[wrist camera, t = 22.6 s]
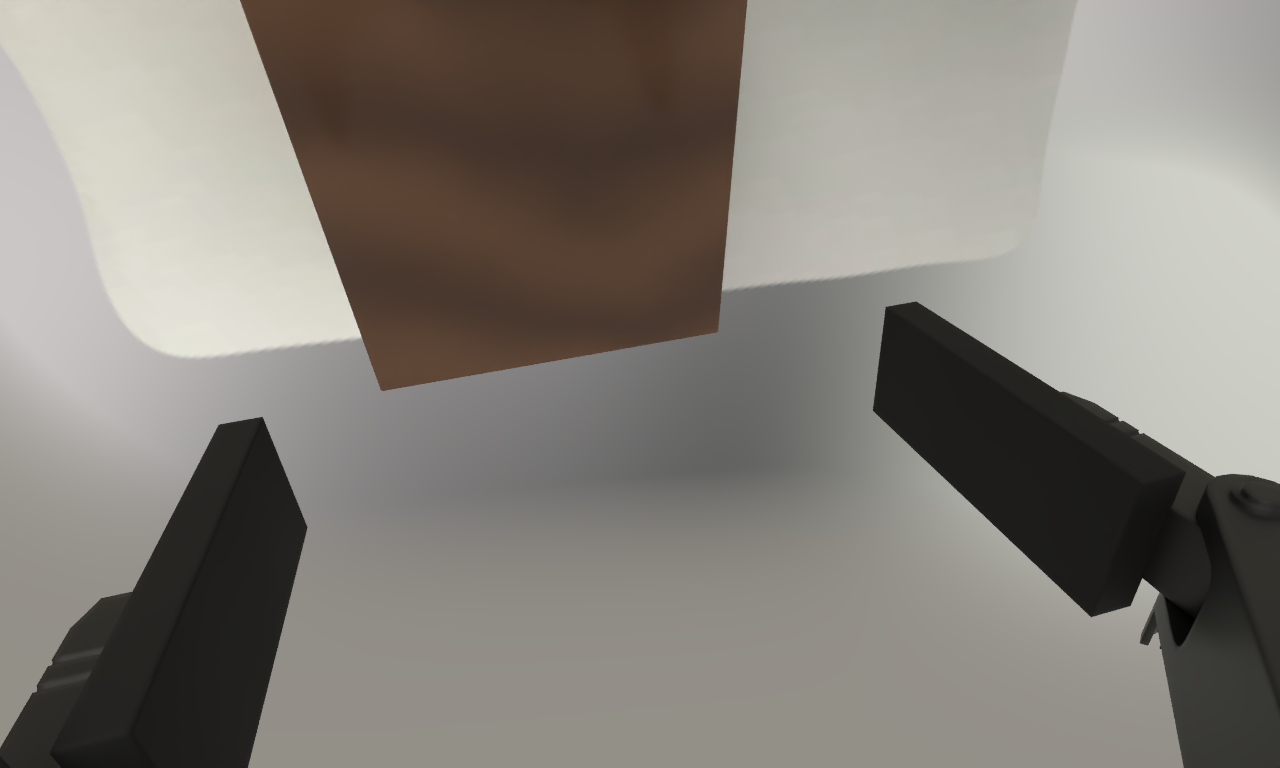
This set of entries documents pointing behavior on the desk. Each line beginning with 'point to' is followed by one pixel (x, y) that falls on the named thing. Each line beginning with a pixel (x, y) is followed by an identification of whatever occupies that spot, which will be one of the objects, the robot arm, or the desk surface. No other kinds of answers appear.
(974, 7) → the desk surface
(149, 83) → the desk surface
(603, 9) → the box lid
